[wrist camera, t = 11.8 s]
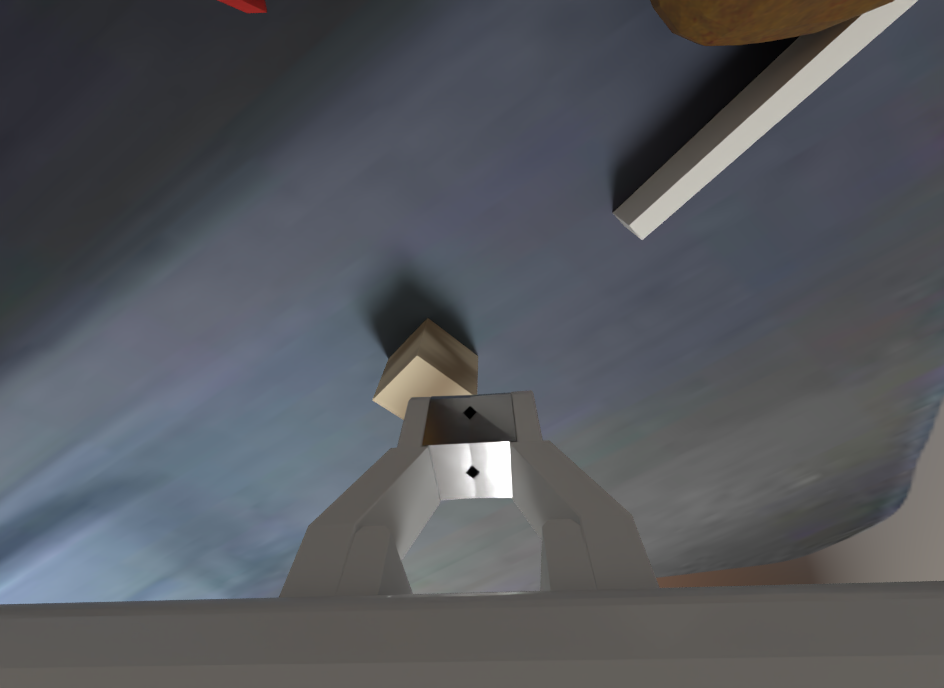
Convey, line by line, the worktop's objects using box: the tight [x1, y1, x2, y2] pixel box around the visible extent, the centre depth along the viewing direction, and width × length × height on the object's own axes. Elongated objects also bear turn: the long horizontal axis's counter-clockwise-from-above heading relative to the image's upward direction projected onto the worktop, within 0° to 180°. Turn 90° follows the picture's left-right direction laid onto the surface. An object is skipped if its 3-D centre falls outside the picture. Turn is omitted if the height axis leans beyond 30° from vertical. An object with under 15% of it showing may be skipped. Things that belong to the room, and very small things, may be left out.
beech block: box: [373, 318, 478, 420], centre depth 27 cm, size 5×5×5 cm
